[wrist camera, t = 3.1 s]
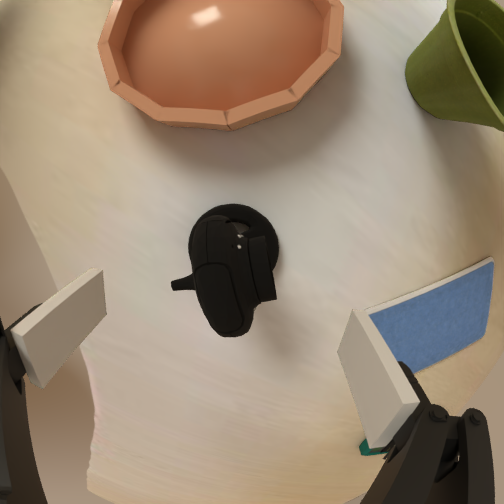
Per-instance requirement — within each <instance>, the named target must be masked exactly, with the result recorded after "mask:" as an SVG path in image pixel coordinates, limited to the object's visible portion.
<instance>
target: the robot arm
mask: <svg viewBox="0 0 504 504" xmlns="http://www.w3.org/2000/svg"><path fill="white" fill-rule="evenodd" d="M106 315H107V312H106V303H105V293H104V281H103V270H100V269H96V268H90V269H89V270H87V271H86V272H85V273H83V274H82V275H80V276H79V277H78V278H76V279H75V280H73V281H72V282H71V283H69V284H68V285H67V286H65V287H64V288H63V289H61V290H60V291H59V292H57V293H56V294H55V295H53V296H52V297H51V298H49V299H48V300H47V301H45V302H44V303H41V304H39V305H37V306H34V307H33V308H32V309H30V310H29V311H28V312H27V313H25V314H24V315H23V316H22V317H20V318H19V319H18V320H17V321H15V322H14V323H13V324H12V325H11V326H9V327H8V328H7V329H6V330H5V331H4V328H3V325H2V321H1V318H0V504H48V503H47V500H46V497H45V494H44V491H43V488H42V484H41V481H40V477H39V474H38V470H37V466H36V461H35V457H34V452H33V448H32V442H31V437H30V431H29V424H28V415H27V407H26V396H25V395H26V394H25V382H24V379H23V376H24V374H25V373H27V375H28V377H29V380H30V382H31V383H33V384H34V385H36V386H38V387H40V388H42V389H43V388H44V387H45V386H46V384H47V383H48V382H49V381H50V380H51V378H52V377H53V376H54V375H55V373H56V372H57V371H58V370H59V368H60V367H61V366H62V365H63V364H64V362H65V361H66V360H67V359H68V358H69V356H70V355H71V354H72V353H73V352H74V351H75V349H76V348H77V347H78V346H79V345H80V344H81V343H82V341H83V340H84V339H85V338H86V337H87V336H88V335H89V333H90V332H91V331H92V330H93V329H94V328H95V327H96V326H97V324H98V323H99V322H100V321H101V320H102V319H103V318H104V317H105V316H106ZM337 353H338V355H339V358H340V361H341V364H342V367H343V369H344V372H345V375H346V378H347V381H348V384H349V387H350V390H351V393H352V395H353V398H354V401H355V404H356V407H357V410H358V413H359V417H360V420H361V423H362V426H363V429H364V432H365V435H366V439H367V442H368V445H369V448H370V449H371V448H378V447H385V446H386V445H387V444H388V443H389V442H390V441H391V440H392V438H393V439H394V442H395V446H394V447H393V448H392V449H391V450H390V451H389V452H388V453H387V454H386V455H385V457H384V458H383V459H384V460H385V459H386V458H387V459H386V461H385V463H384V464H383V466H382V468H381V470H380V472H379V473H378V475H377V477H376V479H375V480H374V482H373V484H372V485H371V487H370V489H369V490H368V492H367V494H366V495H365V497H364V498H363V500H362V501H361V503H360V504H495V487H494V470H493V459H492V451H491V443H490V436H489V431H488V425H487V420H486V418H485V416H484V414H483V413H482V412H481V411H479V410H477V409H474V408H469V409H467V410H466V411H465V412H464V414H463V415H462V416H461V417H457V416H449V414H448V412H447V411H446V410H445V409H444V408H443V407H441V406H439V405H435V404H431V403H430V401H429V399H428V398H427V396H426V394H425V393H424V391H423V389H422V387H421V386H420V384H419V383H418V381H417V379H416V377H414V374H413V372H412V371H411V369H410V368H409V367H408V366H407V365H406V364H405V363H403V362H402V361H397V360H396V359H395V357H394V355H393V354H392V352H391V350H390V349H389V347H388V346H387V344H386V342H385V341H384V339H383V337H382V336H381V334H380V333H379V331H378V329H377V328H376V326H375V325H374V323H373V322H372V320H371V318H370V317H369V315H368V314H367V312H366V311H364V310H353V309H352V312H351V315H350V318H349V321H348V324H347V327H346V330H345V332H344V335H343V338H342V340H341V343H340V346H339V348H338V351H337ZM458 456H459V461H458Z"/></svg>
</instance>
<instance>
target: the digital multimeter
mask: <svg viewBox="0 0 504 504" xmlns="http://www.w3.org/2000/svg"><path fill="white" fill-rule="evenodd" d="M394 446H395V442H394V439H393V438H392V440H391V441H390V442H389V443H388V444H387V445H386V446H385V447H378V448H371V449H370V448H369V445H368V442H367V439H365V440H364V441H363V442H362V444H361V445H360V446H359V449H360V452H361V455H365V456H369V455H377V454H384V453H388V452H389V451H390V450H391V449H392V448H393V447H394Z"/></svg>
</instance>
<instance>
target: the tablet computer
mask: <svg viewBox="0 0 504 504" xmlns="http://www.w3.org/2000/svg"><path fill="white" fill-rule="evenodd" d="M493 278H494V259H493V258H492V257H488V258H486V259H484V260H483V261H481V262H479V263H477V264H475V265H473V266H471V267H469V268H467V269H465V270H462V271H460V272H458V273H456V274H454V275H452V276H449V277H447V278H445V279H443V280H440V281H438V282H436V283H434V284H431V285H429V286H426V287H424V288H422V289H419V290H417V291H414V292H411V293H409V294H406V295H404V296H401V297H398V298H396V299H393V300H391V301H387V302H384V303H382V304H379V305H376V306H373V307H370V308H367V309H365V310H364V311H366V312H367V314H368V315H369V317H370V318H371V320H372V322H373V323H374V325H375V326H376V328H377V329H378V331H379V333H380V334H381V336H382V337H383V339H384V341H385V342H386V344H387V346H388V347H389V349H390V350H391V352H392V354H393V355H394V357H395V359H396V360H397V361H402V362H403V363H405V364H406V365H407V366H408V367H409V368H410V369H411V371H412V372H413V374H415V373H417V372H419V371H421V370H423V369H425V368H427V367H429V366H432V365H434V364H436V363H438V362H440V361H442V360H443V359H445V358H447V357H449V356H451V355H453V354H455V353H457V352H459V351H460V350H462V349H464V348H466V347H467V346H469V345H471V344H473V343H474V342H476V341H478V340H479V339H481V338H482V337H483V336H484V335H485V332H486V328H487V323H488V317H489V311H490V304H491V297H492V288H493Z"/></svg>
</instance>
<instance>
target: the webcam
mask: <svg viewBox="0 0 504 504" xmlns="http://www.w3.org/2000/svg"><path fill="white" fill-rule="evenodd" d="M232 222H239V223H242V224H245V225H247V226H248V227H250V229H249V230H248V231H246V232H243V233H240V234H239V233H238V231H237V229H236V227H235V225H234V224H233V223H232ZM188 250H189V256H190V260H191V264H192V272H193V273H192V274H191V275H189V276H187V277H184V278H181V279H177V280H174V281H172V282H171V287H172V289H173V291H177V290H196V294H197V297H198V301H199V303H200V306H201V308H202V310H203V313H204V315H205V316H206V318H207V320H208V322H209V324H210V326H211V327H212V328H213V329H214V330H215V331H216V332H217V334H218V335H220V336H223V337H238V336H242V335H244V334H245V333H247V332H248V331H249V329H250V327H251V324H252V321H253V314H254V310H255V309H256V306H257V305H259V304H261V302H265V301H271V300H276V299H277V296H276V289H275V283H274V278H273V272H272V271H273V269H274V267H275V265H276V263H277V259H278V253H279V245H278V238H277V235H276V232H275V230H274V228H273V226H272V224H271V223H270V222H269V221H268V219H267V218H266V217H264V216H263V215H262V214H260V213H259V212H258V211H256V210H254V209H253V208H251V207H249V206H245V205H240V204H226V205H220V206H217V207H214V208H213V209H211V210H209V211H208V212H206V213H205V214H203V215H202V216H201V217H200V218H199V219H198V221H197V222H196V224H195V225H194V226H193V229H192V231H191V234H190V237H189V243H188Z"/></svg>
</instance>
